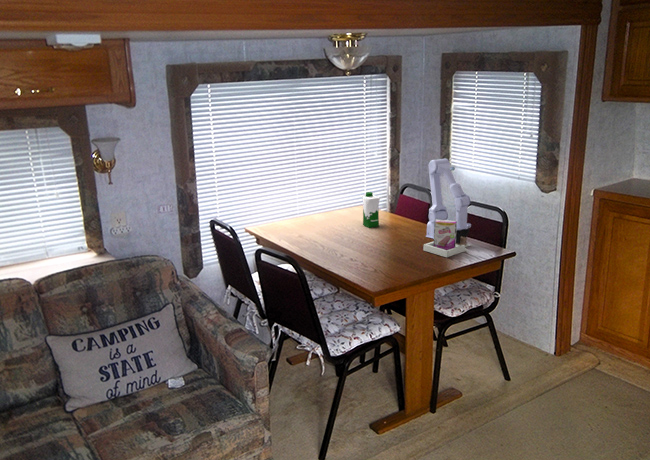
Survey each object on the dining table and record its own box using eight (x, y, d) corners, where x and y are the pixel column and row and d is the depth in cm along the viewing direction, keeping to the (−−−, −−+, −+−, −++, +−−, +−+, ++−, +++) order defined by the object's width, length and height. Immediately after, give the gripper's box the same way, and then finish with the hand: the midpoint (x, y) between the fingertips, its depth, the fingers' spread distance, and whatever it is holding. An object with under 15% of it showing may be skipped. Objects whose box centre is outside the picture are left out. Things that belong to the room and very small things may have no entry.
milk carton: (373, 223, 366) (373, 191, 361) (381, 226, 359) (381, 194, 353) (360, 225, 362) (360, 192, 357) (368, 228, 355) (369, 195, 349)
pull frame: (423, 250, 314) (423, 241, 313) (453, 240, 329) (453, 232, 328) (446, 257, 303) (447, 248, 301) (476, 247, 318) (477, 238, 317)
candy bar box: (433, 251, 312) (434, 221, 308) (434, 248, 317) (435, 219, 312) (455, 253, 309) (456, 222, 305) (455, 250, 314) (457, 220, 309)
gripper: (458, 222, 309) (457, 247, 313) (476, 217, 318) (474, 241, 322) (448, 219, 315) (447, 244, 318) (465, 214, 324) (464, 238, 327)
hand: (460, 242), depth 321 cm, fingers open, 4 cm apart
